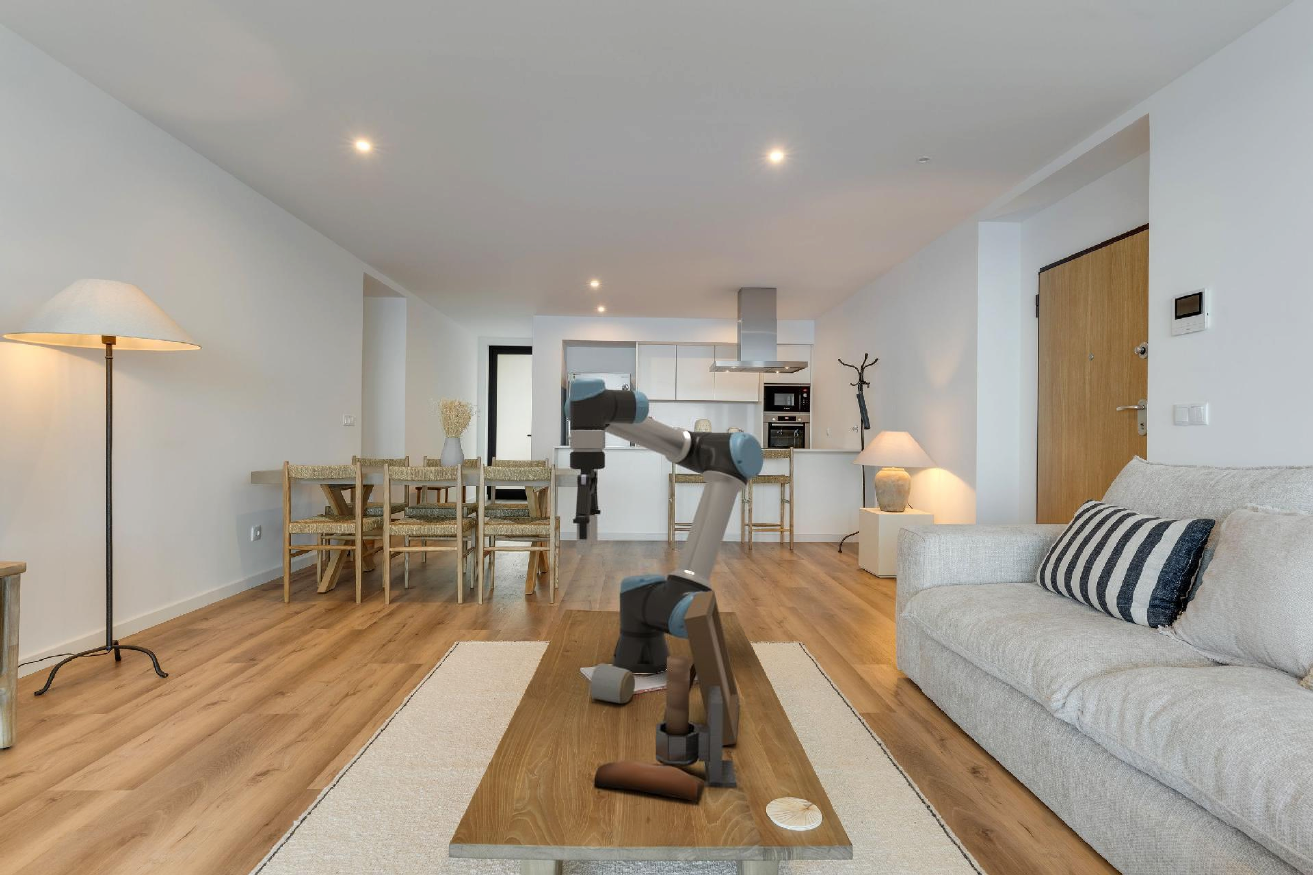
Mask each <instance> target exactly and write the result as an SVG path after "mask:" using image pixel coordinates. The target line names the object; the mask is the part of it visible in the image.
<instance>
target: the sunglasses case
mask: <svg viewBox="0 0 1313 875" xmlns="http://www.w3.org/2000/svg"><path fill="white" fill-rule="evenodd" d="M658 763H659V762H658ZM658 763H657V762H648V761H640V760H639V761H638V760H619V761H612V762H607V763H603V764H602V765H600V766H599V767H598V768H597V769H596V771H595V774H594V780H593V784H594V787H600V788H602V787H605V788H614V789H624V790H634V791H639V792H643V793H644V792H645V793H650V794H659V795H662V796H665V797H672V798H679V799H683V800H684V799H685V800H689V801H693V802H697V804H700V801H701V798H702V795H703V793H704V789H705V787H706V786H705V784H706V783H705V782H706V780H703V779H702V778H700V777H698V776H696V775H694V774H690V773H687V772H685V771H684V770H682V769H680V768H679V767H672V766H666V765H663V764H661V763H660V764H658Z"/></svg>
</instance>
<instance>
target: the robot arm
mask: <svg viewBox="0 0 1313 875" xmlns="http://www.w3.org/2000/svg"><path fill="white" fill-rule="evenodd" d="M569 388H570V389H569V397H567V400H566V401H565V404H564V414H565V417H566V418H567V419H568V421H569V430H570V431H569V432H570V434H568V435H567V436H566V437H567V438H566V439H567V440H570V441H569V444H570V446H569V448H570V449H571V450H572V451H571V452H570V453H569V468H570V469H571V470H580V474H577V477H576V478H577V480H576V484H577V492H576V507H575V508H576V509H575V517H574V518H573V519H572V523H573V524H576V556H591V545H598V515H601V511H602V510H601V509H599V502H598V498H599V497H598V477H597V475H598V472H597V471H595V470H602V469H605V467H606V453H605V452H604V451H603V450H605V449H606V433H607V434H610V435H613V436H615V437H617V438H620V439H623V440H626V441H627V442H630V443H633V444H635V445H638V446H639V447H642V448H645V449H648V450H651V451H653V452H655V453H657V454H660V455H663V456H665V459H666V460H667V461H668V462H669V463H672V464H674V465H678V466H680V467H683V468H684V469H687V470H690V471H692V472H695V473H697V474H700V475H702V476H703V479H704V481H705V484H704V487H703V490H702V493H701V497H700V500H699V502H698V505H697V508H696V511H695V514H694V516H693V520H692V523H691V526H690V530H689V532H688V534H687V537H686V541H685V543H684V545H683V549H682V552H681V556H680V558H679V561H678V564H677V567H676V569H674V570H673V571H672V572H669V573H668V574H667V577H666V576H665V575H664V574H660V573H659V574H654V573H652V574H639V575H633V576H632V575H631V576H627V577H624V578H623V579H622V580H621V582H620V591H619V636H618V639H617V642H616V645H615V647H614V652H613V655H612V657H611V658H612V659H611V660H612V664H611V666H615V667H618V668H623V669H626V670H629V671H631V672H632V673H657V674H659V673H658V672H661V671H664V672H666V671H667V670H666V669H667V657H669V656H672V655H671V653H670V650H669V647H668V646H669V645H668V642H667V640H666V636H665V634H667V635H670V636H672V637H674V638H677V639H684V640H688V635H687V631H686V627H685V622H684V617H685V615H686V613H687V611H688V608H689V606H690V604H691V602H692V599H693V597H694V595H695V594H698V593H703V592H708V591H713V590H714V588H713V587H712V584H711V581H710V579H711V578H712V574H713V571H714V569H715V566H716V562H717V558H718V555H719V553H720V549H721V546H722V543H723V539H724V537H725V534H726V532H727V531H726V530H727V528H728V523H729V521H730V518H731V514H732V512H733V509H734V505H735V503H736V499H737V496H738V494H739V493H740V492H742V491H744V490H746V488H747V484H748V482H749V479H750V480H751V479H753V478H756V477H757V476H759V475H760V473H761V471H763V470H762V469H763V464H764V452H763V449H762V446H761V444H760V442H759V441H758V439H757V438H756V437H755V436H754V435H753V434H750V433H749V432H748V433H747V432H741V431H734V432H707V431H706V432H701V431H700V432H698V431H690V430H688V429H685V428H676V429H675V428H674V427H671V426H669V425H666V424H664V423H662V422H660V421H657V420H655V419H653V418H651V417H649V416H648V415H649V412H650V402H649V399H648V397H647V395H646V394H645V393H643V392H641V391H638V390H633V389H631V390H629V389H627V390H626V389H608V388H606V382H605V381H604V379H601V378H591V377H589V378H587V377H586V378H584V377H583V378H575V379H573V380H572V381H571V382H570V387H569ZM665 670H666V671H665ZM661 673H662V672H661Z"/></svg>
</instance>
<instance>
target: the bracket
mask: <svg viewBox="0 0 1313 875" xmlns="http://www.w3.org/2000/svg"><path fill="white" fill-rule="evenodd" d="M722 725H723V702H722V696H721V691H720V686H708V722H707V724H698V723H695V722H692V721H690V720H689V734H688V735H685V736H676V735H668V734H666V721H660V722H658V723H656V725H655V760H656V761H657V762H658V763H660V764H661V765H666V766H672V767H675V768H684V767H690V766H692V765H694V764H695V763H698V762H700V763H704V764H705V765H704V774H705V782H706V783H705V784H706V787H707V788H737V786H738V784H737V783H738V782H737V778H736V773H735V766H734V761H733V760H726V759H723V745H722Z"/></svg>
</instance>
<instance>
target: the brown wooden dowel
mask: <svg viewBox="0 0 1313 875" xmlns="http://www.w3.org/2000/svg"><path fill="white" fill-rule="evenodd" d="M690 664H691V659H690V657H689V656H687V655H683V654H673V655H671V656H669V657H667V670H666V686H665V687H666V688H665V690H666V692H665V694H666V696H665V700H666V701H665V709H666V734H668V735H676V736H685V735H688V734H689V721H690V720H689V719H690V717H689V716H690V693H689V682H690Z"/></svg>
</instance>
